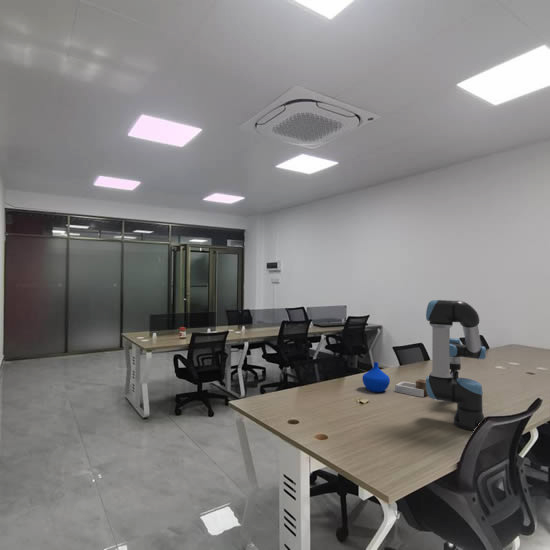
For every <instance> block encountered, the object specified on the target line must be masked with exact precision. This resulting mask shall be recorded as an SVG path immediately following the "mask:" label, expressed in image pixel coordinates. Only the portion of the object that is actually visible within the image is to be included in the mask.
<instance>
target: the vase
mask: <svg viewBox="0 0 550 550" xmlns="http://www.w3.org/2000/svg"><path fill="white" fill-rule="evenodd" d="M390 381H391V380H390V376H389V375H387V374H386V373H385V372H384V371H382V370H381V369H380V368H379V362H377V361H376V362H373V367H372V368H370V370H368V371H367V372H366V373H363V375H362V383H363V384H364V385H363V386H364V387H365V388H366V389H367V390H368V391H370V392H372V393H383V392H385V391H386V389H388V387H389V386H390V383H391V382H390Z"/></svg>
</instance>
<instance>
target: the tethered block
mask: <svg viewBox="0 0 550 550" xmlns="http://www.w3.org/2000/svg"><path fill="white" fill-rule="evenodd" d="M415 384H416V388H417V389H422V390H424V397H426V398H428V397H429V396H428V394H427V390H426V379H418V380H416V381H415Z"/></svg>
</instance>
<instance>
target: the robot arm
mask: <svg viewBox="0 0 550 550" xmlns="http://www.w3.org/2000/svg"><path fill="white" fill-rule="evenodd" d="M425 317H426V321H428V322H429V326H431V328H432V336H431V337H432V347H431V348H432V350H431V352H432V353H431V355H432V357H431V358H432V359H431V360H432V365H431V366H432V370H431V372H430V373H429V374H428V375H427V376H426V379H425V380H426V390H427V394H428V396H427V397H429V399H432V400H436V401H442V402H448V403H453V404H456V405H457V406H456V411H455V414H454V416H453V424H454V425H455V426H456V427H458V428H461V429H462V430H466V429H467V431H471V430H473V432H475V431H474V429H475V428H476V427H477V426H478V424H479V423H480V422H481V421H482V420H483V419H484V418H485V415H484V413H483V411H484V410H483V393H484V392H483V386H482V384H481V383H480V382H478V381H476V380H474V379H472V378H471V379H470V378H465V377H459V372H460V370H462V369H461V368H462V367H461V365H462V364H461V361H462V359H461V358H467V359H477V360H485V359H486V356H487V348H486V346H482V343H481V335H480V330H479V329H480V328H479V324H480V317H479V314H478V312H477V311H476V310H475V308H474V307H473V306H472V305H471V304H469V303H468V302H465V301H463V300H448V299H447V300H442V299H436V300H435V299H434V300H433V299H432V300H430V301H429V302H428V303H427V307H426V311H425ZM453 323H459V325H460V326H461V327H462V331H463V335H464V340H465V341H464V342H465V344H462V343H461V340H460V338H453V337H450V329H451V328H452V327H453Z"/></svg>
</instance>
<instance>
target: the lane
mask: <svg viewBox="0 0 550 550" xmlns="http://www.w3.org/2000/svg"><path fill="white" fill-rule="evenodd" d="M394 389H395V390H394V391H395V392H396V393H400V394H406V395H409V396H410V395H411V396H416V397H420V398H424V397H425V396H424V390H422V389H417V388H416V383H414V382H409V381H401V382H399V383H397V384H395V388H394Z"/></svg>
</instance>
